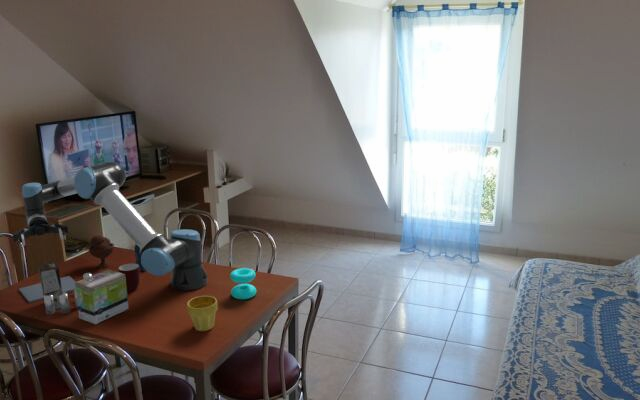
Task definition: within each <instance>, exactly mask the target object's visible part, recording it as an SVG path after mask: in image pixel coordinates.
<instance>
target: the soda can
mask: <svg viewBox="0 0 640 400" xmlns="http://www.w3.org/2000/svg"><path fill="white" fill-rule="evenodd" d="M134 245H135V246H134V256H135V264H138V265H139V268H140V271H146V270H145V269H144V267H143V265H142V263H143V262H141V256H142V255H141V254H140V247H139V246H138V245H137V244H136V243H135V242H134Z"/></svg>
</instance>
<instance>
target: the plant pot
mask: <svg viewBox="0 0 640 400" xmlns="http://www.w3.org/2000/svg"><path fill="white" fill-rule="evenodd" d="M186 305H187V306H186V308H187V313H188V315H190V317H191V321H192V324H193V326H194V329H195V330H196V331H198V332H206V331H210V330H212V329H214V326H215V321H216V312H217V311H218V309H219V308H218V300H217V298H216V297H214V296H211V295H200V296H195V297H193V298H190V300H188V301H187V304H186Z"/></svg>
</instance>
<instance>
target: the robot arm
mask: <svg viewBox="0 0 640 400" xmlns="http://www.w3.org/2000/svg"><path fill="white" fill-rule="evenodd" d="M126 179H127V172H126V170H125V168H124V167H123V165H121V164H120V163H119V162H114V161H106V162H103V163H99V164H95V165H92V166H86V167H84V168H82V169H81V168H80V169H78V171H77V172H76V174H75V175H74V176H71V177H67V178H63V179H60V180H56V181H53V182H51V183H50V182H49V183H45V184H41V183H40V182H29V183H25V184H23V186H22V187H21V188H22V190H21V191H22V192H21V193H22V200H23V202H24V203H23V204H24V207H25V208H24V210H25V218H26V219H25V221H26V222H27V226H28V228H25V227H21V228H20V229H19V230H18V231H16V232H15V233H14V234H12V239H13V240H12V241H13V242H17V241H18V243H22V247H23V246H26V241H25V239H28V238H29V237H34V236H43V235H45V234H57V235H59V238H60V240H64V236H65V235H66V234H68V233H69V232H70V231H69V226H66V225H64V224H60V223H58V222H53V224H52V225H51V224H49V222H48V219H47V216H46V211H45V203H47V202H51V201H54V200H58V199H61V198H65V197H67V196H72V195H75V194H77V195H78V196H79V197H81V198H82V199H84V200H85V199H87V200H88V199H90V200H92V202H93V203H94V204H95V205H101V206H102V208H104V210H105V211H106V212H107V214H109V215H110V216H111V217H112V219H113V220H114V221H116V223H117V224H118V225H119V226H120V227H121V228H122V229H123V231H124V232H125V233H126V234H127V235H128V236H129V237H130V238H131V240H133V242H134V244H135V243H136V244H137V245H138V246H139V247H140V254H141V255H142V256H141V262H143V263H142V265H143V267H144V269H145V270H144V271H146V272H147V273H148V274H150V275H152V276H155V277H162V276H164V275H167V274H168V275H169V274H170V273H171V276H170V287H171V288H173V289H174V290H177V291H183V292H184V291H185V292H187V291H194V290H198V289H201V288H203V287H205V286H206V285H207V284H208V283H209V281H208V280H209V279H208V275H207V272H206V270H205V268H204V266H203V257H202V245H201V243H202V242H201V241H202V240H201V237H200V235H201V234H200V233H199V232H198V231H197V230H194V229H184V228H183V229H175V230H172V231H171V232H170V238H169V239H168V238H167V236H166V235H165V234H164V233H158V232H157V231H156V230H155V229H154V228H153V227H152V226H151V225H150V224H149V222H148V221H147V220H146V219H145V218H144V217H143V216H142V215H141V213H139V211H138V210H137V209H136V208H135V207H134V206H133V205H132V203H131V202H130V201H129V200H128V199H127V198H126V197H125V196H124V195H123V194H122V193H121V191H120V187H122V186H123V185H124V184H125V182H126Z"/></svg>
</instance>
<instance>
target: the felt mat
mask: <svg viewBox="0 0 640 400" xmlns="http://www.w3.org/2000/svg"><path fill="white" fill-rule="evenodd" d="M60 280H61V287H62V293H64V292H65V293H72V292H74V290H75V289H76V285H75V282H76V281H75V279H73V277H71V276H70V275H67V276H63V277H60ZM18 291H19V292H20V294H21V295H22V296H23V297H24V299H26V301H27V303H29V304H32V303H36V302H40V301H44V296H43V291H42V285H41V282H39V283H35V284H33V285H32V284H31V285H27V286H24V287H20V288H19V289H18Z"/></svg>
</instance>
